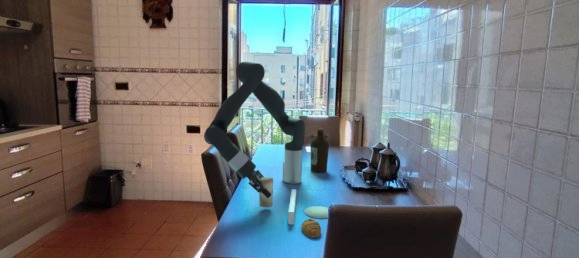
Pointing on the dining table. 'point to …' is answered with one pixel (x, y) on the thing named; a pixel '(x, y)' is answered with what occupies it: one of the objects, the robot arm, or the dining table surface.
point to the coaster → (317, 212)
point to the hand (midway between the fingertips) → (270, 193)
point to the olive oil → (319, 153)
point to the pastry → (311, 228)
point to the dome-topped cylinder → (268, 185)
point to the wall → (292, 207)
